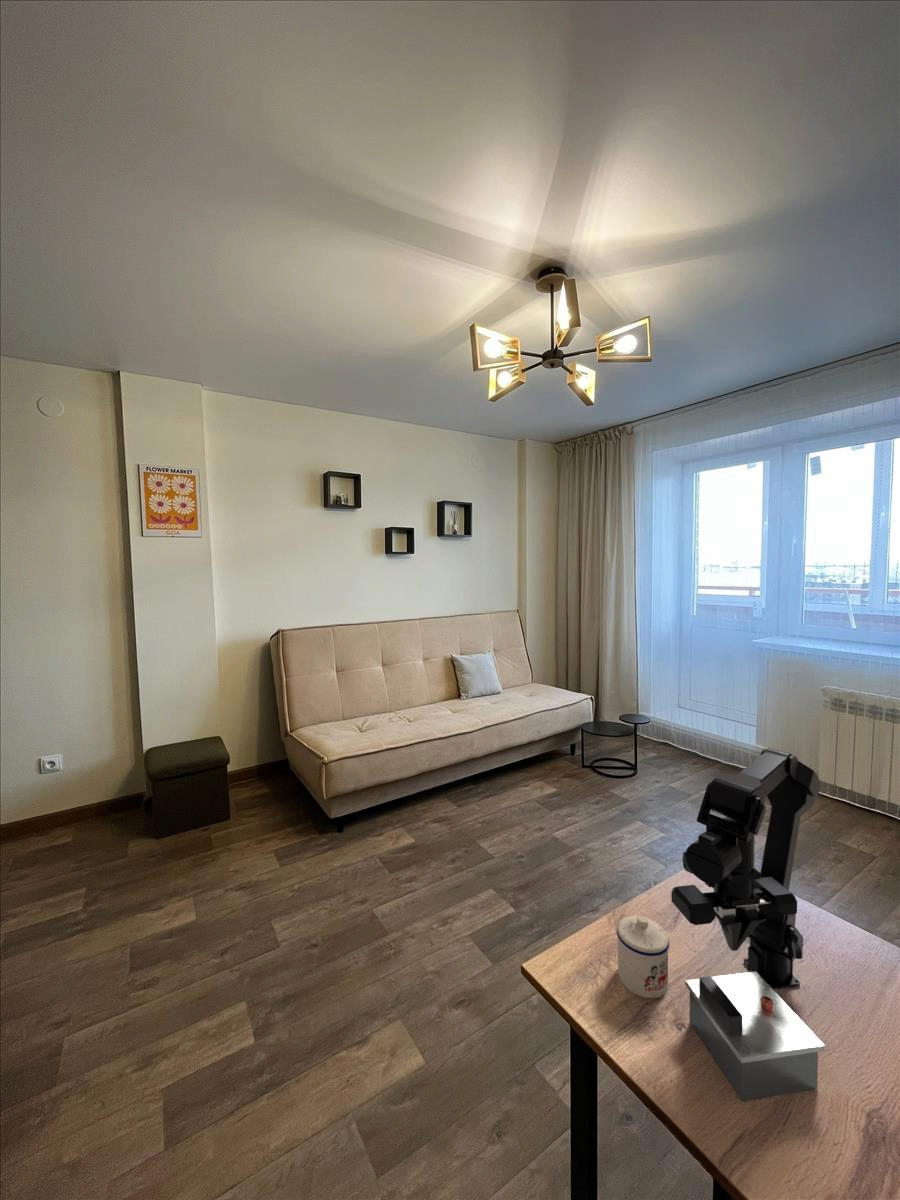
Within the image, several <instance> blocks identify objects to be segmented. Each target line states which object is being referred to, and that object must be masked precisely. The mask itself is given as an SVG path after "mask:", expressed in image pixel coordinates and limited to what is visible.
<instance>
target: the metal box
mask: <svg viewBox="0 0 900 1200" xmlns="http://www.w3.org/2000/svg"><path fill="white" fill-rule="evenodd" d="M689 1024H690V1026H691V1027H692V1029H693V1031H694V1032H695V1034H696V1035H697V1037H698V1038H699V1040H700V1041H701V1043H702V1045H703V1046H704V1047H705V1049H706V1050H707V1052H708V1053H709V1055H710V1056H711V1058H712V1059H713V1061H714V1062H715V1064H716V1065H717V1067H718V1069H719V1070H720V1071H721V1073H722V1074H723V1076H724V1078H725V1079H726V1080H727V1082H728V1084H729V1086H731V1088H732V1089H733V1090H734V1092H735V1094H736V1096H737V1097H738V1099H739V1100H740V1102H748V1101H752V1100H753V1101H754V1100H759V1099H760V1100H761V1099H765V1098H773V1097H776V1096H783V1095H789V1094H796V1093H804V1092H809V1091H814V1090H818V1076H819V1075H818V1070H819V1069H818V1068H819V1067H818V1066H819V1052H812V1053H806V1054H799V1055H793V1056H786V1057H779V1058H773V1059H766V1060H760V1061H753V1062H747V1063H741V1062H740V1061H739V1059H738V1058H737V1056H736V1055H735V1054H734V1052H733V1051H732V1049H731V1048H730V1047H729V1045H728V1044H727V1042H726V1041H725V1040H724V1038H723V1037H722V1035H721V1034H720V1033H719V1031H718V1030H717V1028H716V1027H715V1026H714V1024H713V1023H712V1021H711V1020H710V1019H709V1017H708V1016H707V1014H706V1013H705V1012H704V1010H703V1009H702V1008H701V1006H700V1005H699V1003H698V1002H697V1001H696V999H695V998H694V996H693V995H692V994H691V992H690V991H689Z"/></svg>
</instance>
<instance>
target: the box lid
mask: <svg viewBox="0 0 900 1200" xmlns="http://www.w3.org/2000/svg"><path fill="white" fill-rule="evenodd" d="M684 981H685V982H684V983H685V984H684V985H685V987H686V988H687V989H688V991H689V993H690V992H691V994H692V995H693V996H694V998H695V999H696V1001H697V1002H698V1003H699V1005H700V1006H701V1008H702V1009H703V1010H704V1012H705V1013H706V1014H707V1016H708V1017H709V1019H710V1020H711V1021H712V1023H713V1024H714V1026H715V1027H716V1028H717V1030H718V1031H719V1033H720V1034H721V1035H722V1037H723V1038H724V1040H725V1041H726V1042H727V1044H728V1045H729V1047H730V1048H731V1049H732V1051H733V1052H734V1054H735V1055H736V1056H737V1058H738V1059H739V1061H740V1062H741V1063H747V1062H753V1061H760V1060H766V1059H773V1058H779V1057H786V1056H793V1055H799V1054H806V1053H812V1052H818V1053H819V1052H824V1051H825V1046H826V1045H825V1044H824V1043H823V1041H821V1040H820V1039H819V1038H818V1037H817V1036H816V1034H815V1033H814V1032H813V1031H812V1030H811V1029H810V1028H809V1027H808V1025H806V1024H805V1022H804V1021H803V1020H802V1019H801V1018H800V1017H799V1016H798V1015H797V1014H796V1013H795V1012H794V1010H793V1009H791V1007H790V1006H789V1005H788V1004H787V1003H786V1001H784V999H782V997H780V996H779V994H778V993H777V992H776V991H775V989H772V988H771V987H770V986H769V985H768V984H767V982H766V981H765V980H764V979H763V978H762V977H761V976H760V975H759V974H758V973H757V972H756V971H754V972H752V971H748V972H739V973H733V974H731V973H730V974H723V975H716V976H704V977H703V976H702V977H701V976H700V977H699V978H694V979H685V980H684Z"/></svg>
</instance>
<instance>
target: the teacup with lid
mask: <svg viewBox="0 0 900 1200" xmlns="http://www.w3.org/2000/svg"><path fill="white" fill-rule="evenodd" d="M616 936H617V972H618V973H617V974H618V978H619V980H620V982H621V983H622V985H623V986H624V987H625V988H626V989H628V991H629V992H631V993H632V994H634V995H636V996H638V997H641V998H646V999H657V998H660V997H662V996H664V995H665V993H666V992H667V991H668V986H669V948H670V939H669V936H668V933H667V932H666V930H665V929H664V927H662V926H661V925H660V924H659V923H657V922H656V921H654V920H653V919H651V918H648V917H645V916H642V915H628V916H625V917H623V918H622V919H621V920H619V922H618V923H617V926H616Z"/></svg>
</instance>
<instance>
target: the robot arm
mask: <svg viewBox="0 0 900 1200" xmlns="http://www.w3.org/2000/svg"><path fill="white" fill-rule="evenodd" d="M820 780H821V779H820V778H819V777H818V775H817V774H816V772H815V770H813V769H812V768H810V767H809V766H807V765H806V764H804V763H803V762H801V761H800V760H799V759H798V758H797V756H796V755H793V754H792V753H790V752H785V751H781V750H777V749H774V748H773V749H772V748H763V749H762V750H761V753H760V755H759V756H758V757H757V758H756V759H755V760H753V761H752V762H750V763H749V764H748V765H747V766H746V767H744V768H743V769H742V770H741V771H740V772H739V773H738V772H737V773H723V774H721V775H718V776H716V777H714V778H713V779H712V780H711V781H710V782H709V783H708V784H707V786H706V789H705V790H704V791H705V792H704V795H703V799H702V802H701V805H700V808H699V811H698V815H697V817H696V822H697V823H698V824H702V825H704V826H705V832H702V833H700V834H699V835H698V838H697V840H695V841H693V842H692V843H691V844H689V846H688V847H687V848H686V851H683V852H682V865H683V869H684V871H685V872H688V874H689V873H690V874H691V875H694V876H695V877H696V878H697V879H698V880H700V881H702V882H703V883H704V884H705V885H706V886H707V887H708V888H712V889H713V891H710V892H702V891H701V889H699V888H698V887H697V886H696V885H695V884H690V885H679V886H674V887H673V888H672V890H671V895H670V896H671V902H672V904H673V905H674V906H675V907H676V909H678V911H679V912H680V913H681V914H682V915H683V917H684V919H686V920H687V921H688V922H689V923H690V924H691V925H695V926H699V925H708V924H712V922H713V921H714V920H715V919H718V922H719V924H720V926H721V930H722V933H723V935H724V938H725V942H726V943H727V947H728V948H729V949H730V950H731V951H732V952H735V951H738V950H739V949H740V947H741V946H742V945H743V943H744V942H745V941H746V940H747V938H749V946H747V947H748V948H747V958H744V959H743V963H744V965H745V966H746V967H747V968H748V969H749V971H750V972H754V971H756V972H757V973H758V974H759V975H760V976H761V977H762V978H763V979H764V980H765V981H766V982H767V984H768V985H769V986H770V987H771V988H772V989H773V990H778V989H786V988H794V987H799V986H800V985H801V982H800V981H799V979H798V978H797V977H795V976H794V974H793V972H794V970H793V969H794V961H795V960H802V959H803V956H804V955H803V954H804V951H803V948H804V937H803V935H802V934H801V932H800V931H799V930H798V929H797V927H796V921H797V920H796V918H797V913H798V899H797V898H796V896H795V894H794V893H792V891H790V884H791V879H792V872H793V866H794V860H795V853H796V848H797V847H796V846H797V841H798V835H799V828H800V822H801V817H802V816H804V814H805V813H807V812H808V811H809V810H810V809H811V808H813V806H814V804H815V799H816V798H817V797H819V794H820V791H821V781H820ZM766 797H767V799H768V801H769V804H770V806H771V807H770V814H769V815H770V816H769V820H768V827H767V832H766V839H765V844H764V851H763V854H762V861H761V865H760V866H761V867H760V871H759V870H758V869H756V868H755V835H756V836H758V835H759V831H760V829H761V825H762V823H763V820H764V818H765V814H766V812H767V808H766V806H765V800H764V799H765V798H766ZM711 811H712V812H713V813H717V814H719V815H722V816H725V817H723V818H722V817H719V816H717V815H714V814H712V813H711Z"/></svg>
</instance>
